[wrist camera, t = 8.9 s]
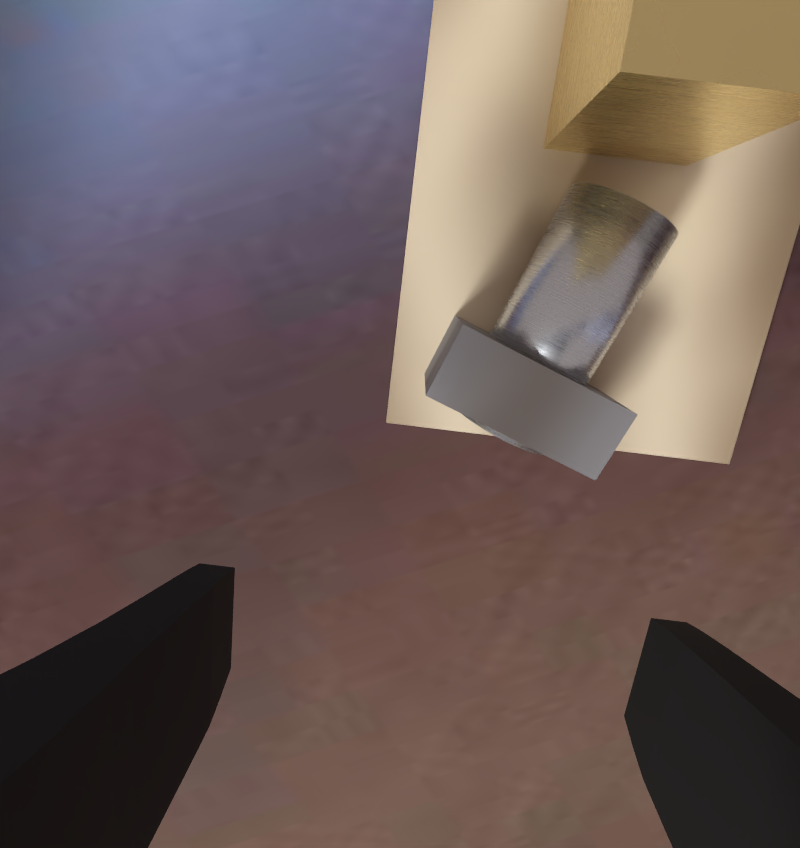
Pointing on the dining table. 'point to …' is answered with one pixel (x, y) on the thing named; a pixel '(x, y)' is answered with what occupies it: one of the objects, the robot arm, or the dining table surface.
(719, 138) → the yellow rectangular block
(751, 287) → the board
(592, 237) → the shaft angled
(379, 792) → the dining table surface
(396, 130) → the dining table surface
